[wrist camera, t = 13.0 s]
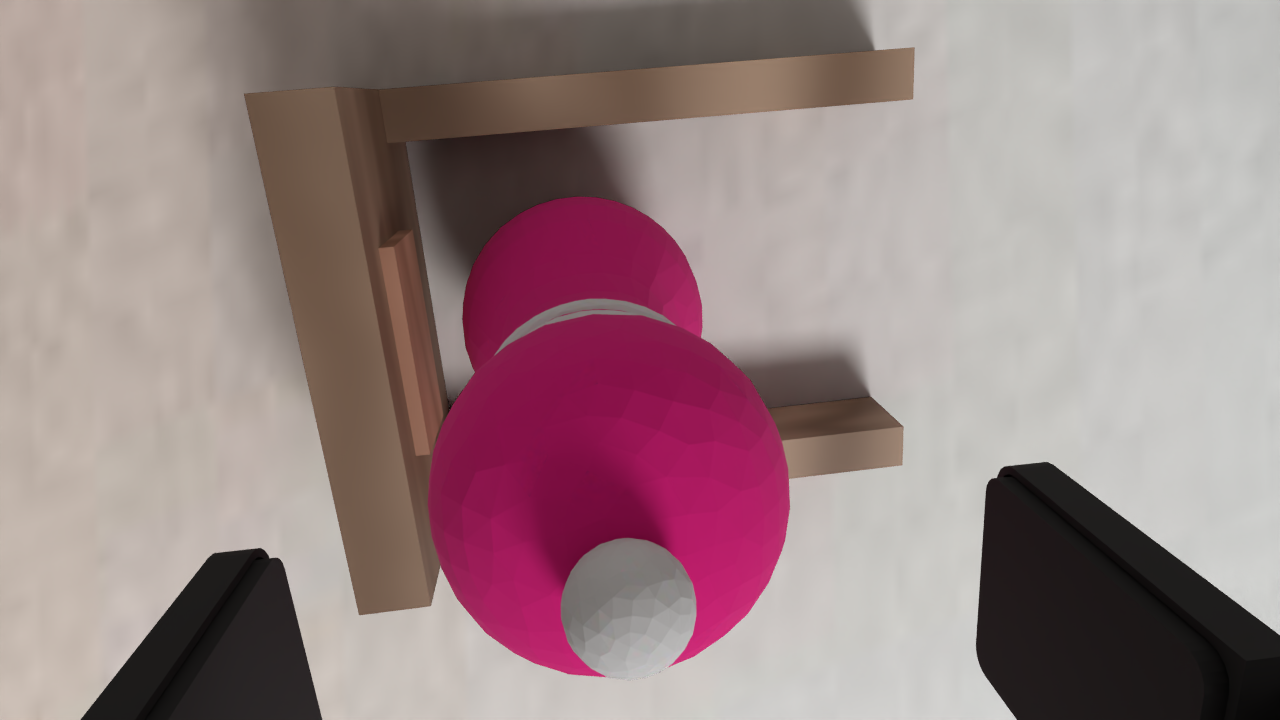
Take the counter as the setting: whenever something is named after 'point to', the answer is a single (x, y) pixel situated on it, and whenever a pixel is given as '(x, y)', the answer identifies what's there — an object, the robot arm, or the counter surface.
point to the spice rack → (398, 284)
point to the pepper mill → (602, 452)
